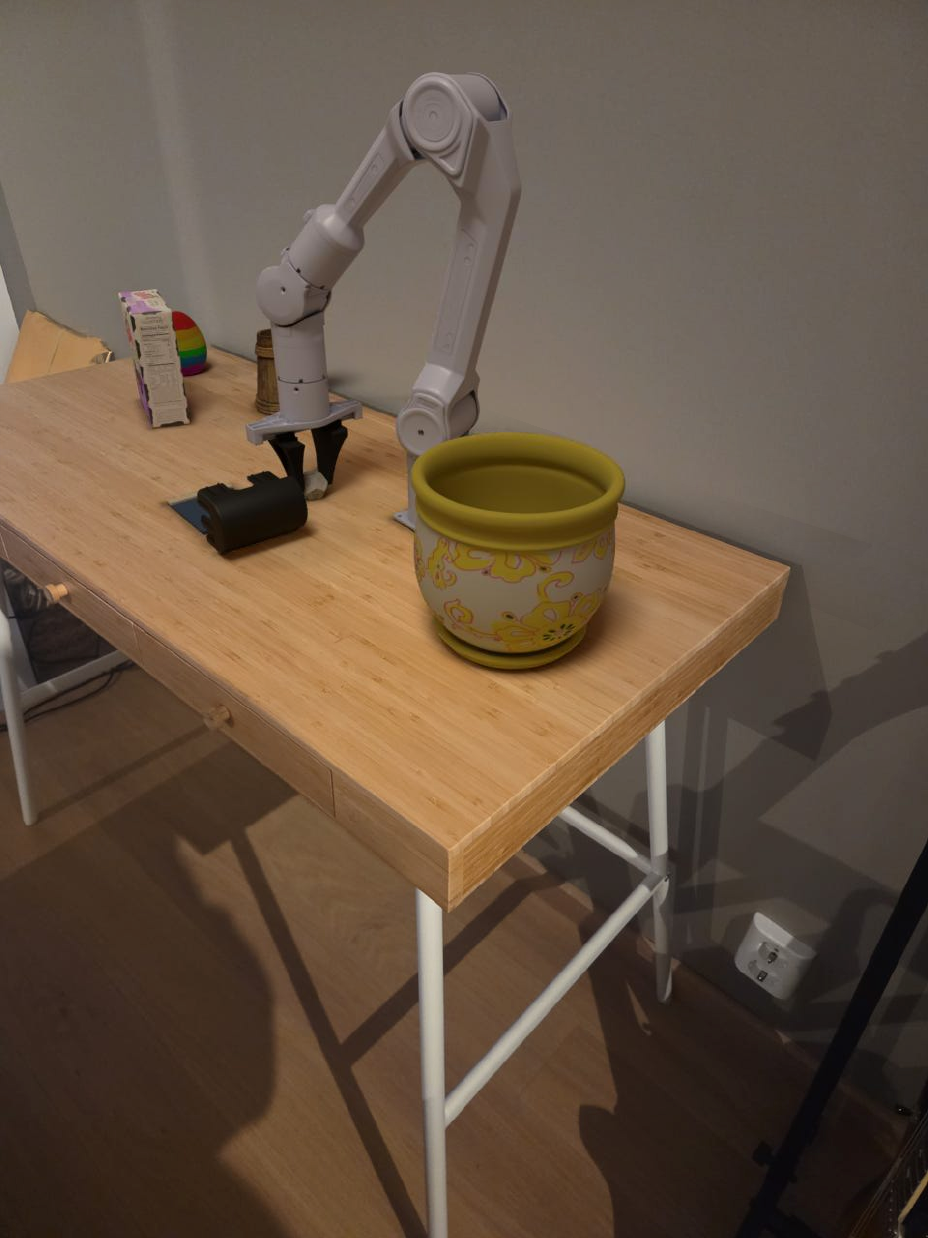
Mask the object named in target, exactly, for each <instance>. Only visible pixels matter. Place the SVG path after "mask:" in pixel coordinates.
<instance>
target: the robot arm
mask: <svg viewBox="0 0 928 1238" xmlns="http://www.w3.org/2000/svg"><path fill="white" fill-rule="evenodd" d="M512 125H513V111H512V109H511V108H510V107H509V105H508V102H506V100H505V98H504V97H503V94H502V93H501V91H500V90H499V88H498V87H497V84H495V82H493V81H492V80H491V78H489V77H488V76H486V75H484V74H482V73H479V72H474V71H473V72H472V71H470V72H465V73H461V74H447V73H444V72H439V71H438V72H437V71H435V72H433V71H432V72H428V73H425V74H423V75H420V76H418V78H416V79H415V80H414V81H413V82H412V84H410V86H409V87H408V89H407V91H406V93H405V96H404V99H400V100H399V101H397V103H396V104H395V105H394V106H392V108H391V109H390V111H389V114H388V117H387V119H386V122H385V124H384V126H383V128H382V129H381V131H380V132H379V134H378V136H377V137H376V139H375V140H374V142H373V143H372V145H371V147H370V149H369V150H368V151H367V153H366V155H365V156H364V158H363V159H362V161H361V163H360V164H359V166H358V168H357V169H356V171H355V172H354V174H353V176H352V177H351V178H350V181H349V182H348V183H347V185H346V187H345V188H344V190H343V192H342V193H341V195H340V197H339V198H338V200H337V201H336V203H335V204H332V203H331V204H329V203H325V204H320V205H318V207H317V208H312V209H308V210H307V211H306V212H305V213H304V215H303V217H302V221H303V222H304V224H305V225H304V227H303V228H302V229H301V231H300V233H299V234H298V235H297V237H296V238H295V239H294V241H293V242H292V243H291V245H290V246H286V247H284V248H283V249H282V251H281V252H280V257H281V261H280V265H272V266H268V267H266V268H264V269H262V270H261V272H260V275H259V278H258V279H257V282H256V285H255V286H256V287H255V297H256V301H257V304H258V307H259V309H260V310H261V312H262V314H263V315H264V316H265V317H266V318H267V319H268V320H269V324H270V328H271V334H272V343H273V352H274V360H275V369H276V377H277V386H278V395H279V404H280V412H277V413H275V414H273V415H272V414H270V415H268V416H266V417H264V418H262V419H260V420H256V421H254V422H251V423H248V424H245V430H246V431H245V432H246V439H247V442H248V443H250V444H252V445H254V446H255V447H256V446H257V447H258V446H261V445H263V444H264V442H267V443H268V444H269V446H271V448H272V450H273V451H274V452H275V454H276V456H277V457H278V459H279V461H280V463H281V465H282V467H283V468H284V472H285V474H286V477H287V476H292V477H293V478H295V480H296V481H297V482H298V483H299V485H300V487H301V489H302V491H303V493H304V492H305V481H304V472H305V471H304V457H305V450H306V444H304V443H303V442H301V441H300V440H299V439H298V436H296V434H298V433H302V432H307V431H309V430H310V433H311V437H312V441H313V444H314V449H315V456H316V465H317V466H316V467H317V471H318V472H320V473H321V474H322V475H323V476H324V478H325V479H326V480H327V482H328V483H327V486H331V485H333V483H334V478H335V472H336V467H337V463H338V459H339V456H340V453H341V451H342V449H343V446H344V444H345V442H346V440H347V438H348V437H349V430H348V427H347V426H344V425H343V423H342V422H344V421H348V420H352V419H353V420H355V421H358V420H361V419H363V403H362V402H360V401H358V400H356V399H354V398H351V399H346V400H339V401H330V392H329V382H328V379H329V378H328V369H327V356H326V343H325V330H324V326H325V324H326V323H325V312H326V310H327V308H328V307H329V305H330V303H331V302H332V301H331V300H332V294H333V288H334V287H335V286H336V285H337V283H338V282H339V280H340V279H341V278H342V276H344V274H345V273H346V271H347V270H348V269H349V268H350V266H351V265H352V263H353V262H354V261H355V259H356V258H357V257H358V256H359V254H360V253H361V252H362V250H363V249H364V247H365V244H366V243H365V240H366V239H365V232H364V227H365V226H366V225H367V223H368V222H369V221H370V219H371V218H372V217H373V216H374V215H375V213H376V212H377V211H378V210H379V209H380V208H381V206H383V204H384V203H385V201H386V200H387V199H388V198H389V197H390V196H391V194H392V193H393V192H394V191H395V190H396V188H397V187H398V186H399V185H400V184H401V183H402V181H403V180H404V179H405V178H406V177H407V175H408V174H409V173H410V172H411V171H412V170H413V168H414V169H415V167H418V166H421V165H424V164H426V163H430V164H431V165H432V166H433V167H434V168H435V169H436V170H438V171H439V172H440V173H441V174H442V175H443V176H444V177H445V178H446V180H447V181H448V183H449V185H450V186H451V188H452V190H453V191H454V193H455V195H456V197H457V198H458V199H459V201H460V208H459V213H458V217H457V223H456V226H455V231H454V236H453V240H452V245H451V248H450V253H449V258H448V263H447V267H446V270H445V271H446V272H445V276H444V279H443V285H442V289H441V294H440V298H439V302H438V307H437V313H436V316H435V321H434V325H433V330H432V334H431V338H430V343H429V347H428V351H427V356H426V361H425V364H424V365H423V368H422V369H421V371H420V373H419V374H418V376H417V378H416V380H415V382H414V383H413V384H412V388H411V391H410V395H409V399H408V401H407V402H406V404H405V405H404V406H403V408H401V410H400V411H399V412H398V414H397V417H396V419H395V434H396V438H397V439H398V442H399V443H400V445H401V447H402V448H403V450H404V451H406V467H407V468H406V471H407V472H406V473H407V477H406V479H407V509H406V508H405V509H403V510H401V511H398V512H394V513H393V517H392V518H393V519H394V520H396V521H397V522H399V523H401V524H403V525H404V526H405V527H407V528H408V529H410V530H412V531H415V523H416V516H417V511H416V508H415V497H416V494H415V492H414V490H413V488H412V485H411V478H410V477H411V470H412V467H413V465H414V463H415V461H416V460H417V459H418V458H419V457H420V456H421V455H422V454H423V453H424V452H426V451H427V450H429V449H430V448H432V447H434V446H436V445H438V444H441V443H443V442H446V441H449V440H452V439H456V438H460V437H464V436H470V434H471V433H470V432H471V431H470V430H472V429H473V428H474V427H475V425H476V424H477V422H478V420H479V417H480V413H481V412H480V411H481V408H480V407H481V405H480V402H479V394H478V391H479V387H480V386H479V385H480V382H481V377H480V375H479V374H478V372H477V370H476V369H477V365H478V360H479V357H480V353H481V349H482V347H483V342H484V338H485V334H486V331H487V326H488V323H489V320H490V316H491V311H492V308H493V304H494V300H495V296H496V294H497V290H498V285H499V281H500V278H501V273H502V271H503V266H504V263H505V258H506V254H507V251H508V247H509V243H510V240H511V236H512V232H513V228H514V224H515V222H516V221H515V220H516V217H517V214H518V210H519V205H520V201H521V198H522V197H521V196H522V180H521V176H520V170H519V166H518V165H519V164H518V161H517V155H516V151H515V145H514V144H515V143H514V140H513V134H512Z"/></svg>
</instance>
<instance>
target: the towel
mask: <svg viewBox="0 0 928 1238" xmlns="http://www.w3.org/2000/svg"><path fill="white" fill-rule="evenodd" d="M224 484H225V485H226V486H227V487H229V488H231V489H234V487H233V485H232V484H231V483H229V482H225V483H224ZM198 491H199V490H197V491H194V492H193V491H192V492H190V493H186V494H182V495H179V496H175V497H171V498H168V499H166V505H168V506H169V507H170V508H171V509H172V510H173V511H175V512H176V513H177V514H178V515H179V516H181V517H182V518H183V519H184V520H186V521H187V522H188V523H189V524H190V525H191V526H192V527H194V528H195V529H196V530H198V531H199V532H200V533H201V534H202V535H207V534H210V532H209V531H207V530H206V529H205V528H204V527H203V525H202V522H201V521H200V520H201V515H205V516H206V517H208V518H209V519H210V515H209V513H208V512H207V511H205V510H204V509H203V508H202V507H201V506H199V504H198V503H197V500H198V498H197V492H198Z"/></svg>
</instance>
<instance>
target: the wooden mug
mask: <svg viewBox="0 0 928 1238" xmlns="http://www.w3.org/2000/svg"><path fill="white" fill-rule="evenodd" d="M254 355H255V356H256V370H257V371H256V375H257V376H256V378H257V379H256V382H257V383H256V385H257V387H256V388H257V390H256V391H257V392H256V394H255V405H254V406H255V409H256V410H257V411H259V412H260V413H263V414H267V415H273V414H275V413H277V412H280V404H279V395H278V386H277V377H276V369H275V360H274V352H273V343H272V334H271V327H270V328H265V329H261V330H259V331H257V332H256V342H255V345H254Z"/></svg>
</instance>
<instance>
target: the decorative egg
mask: <svg viewBox="0 0 928 1238" xmlns="http://www.w3.org/2000/svg"><path fill="white" fill-rule="evenodd" d="M172 315H173V320H174V326H175V332H176V338H177V345H178V351H179V357H180V363H181V369H182V375H183V377H187V376H193V375H197V374H200V373H201V372H202V371H203V369H204V368H205V366H206V363H207V358H208V348H207V343H206V339H205V337H204V333H203V332H202V331H201V328H200V327H199V325H198V324H197V323H196V321H194V320H193V318H192V317H190V315H188V314H186V313H184V312H182V311H180V310H179V311H178V310H172Z"/></svg>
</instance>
